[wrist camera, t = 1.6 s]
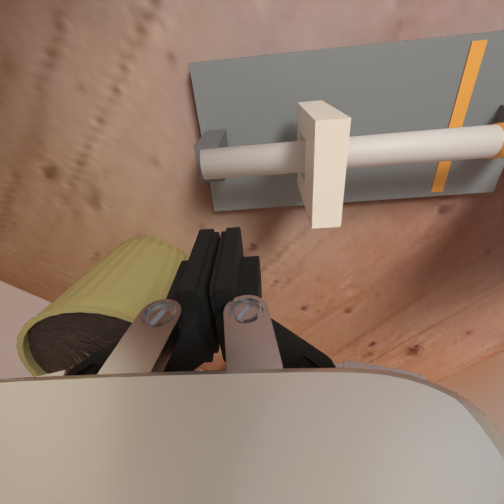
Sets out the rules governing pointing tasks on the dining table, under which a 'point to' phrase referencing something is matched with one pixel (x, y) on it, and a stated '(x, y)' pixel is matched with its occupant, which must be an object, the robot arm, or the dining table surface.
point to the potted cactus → (99, 306)
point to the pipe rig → (355, 119)
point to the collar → (323, 161)
